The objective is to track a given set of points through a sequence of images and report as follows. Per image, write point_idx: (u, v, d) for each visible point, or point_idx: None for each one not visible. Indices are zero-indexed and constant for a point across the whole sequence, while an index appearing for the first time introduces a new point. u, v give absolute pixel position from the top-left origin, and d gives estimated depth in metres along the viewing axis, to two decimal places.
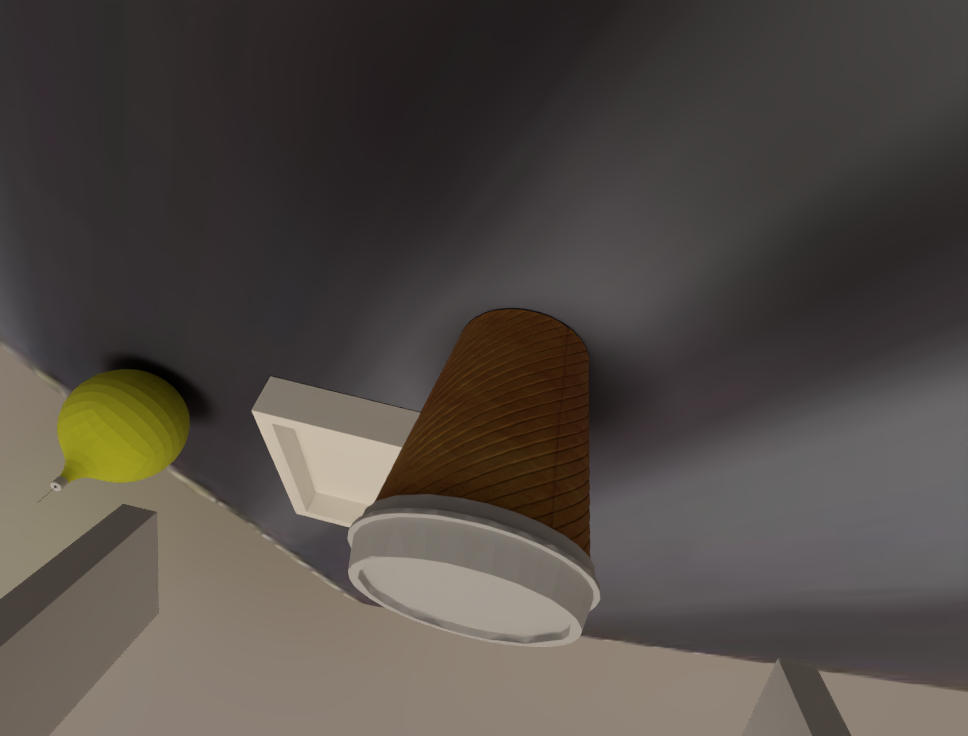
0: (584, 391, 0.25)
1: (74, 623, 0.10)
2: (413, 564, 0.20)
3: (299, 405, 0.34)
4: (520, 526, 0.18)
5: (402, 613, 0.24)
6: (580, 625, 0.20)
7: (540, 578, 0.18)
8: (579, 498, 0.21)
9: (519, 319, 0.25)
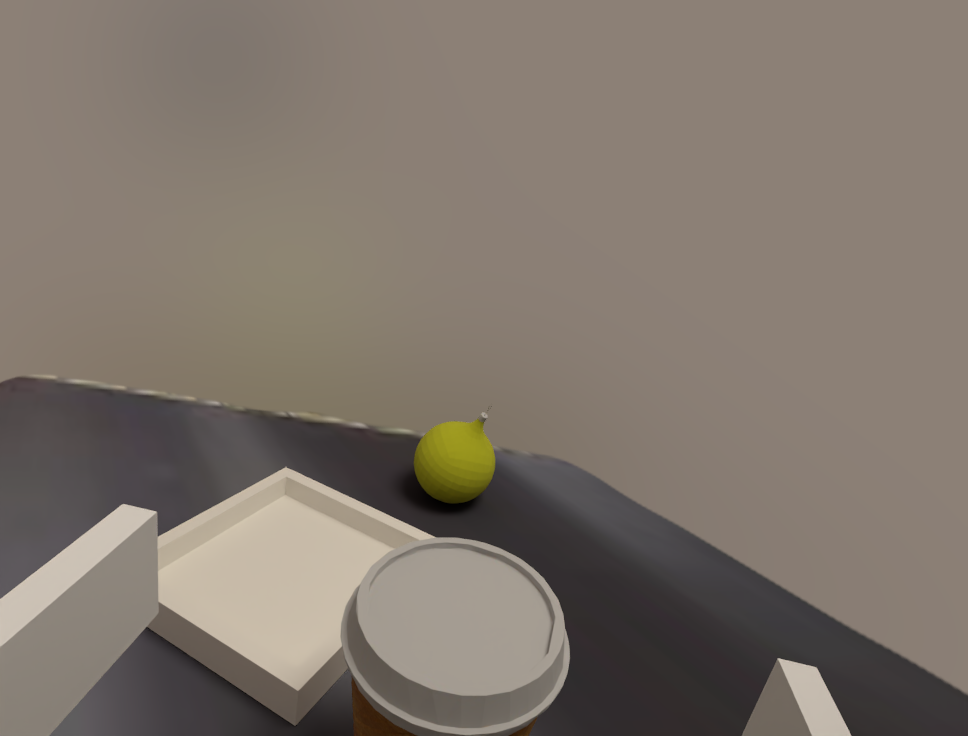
0: None
1: (74, 623, 0.10)
2: (525, 605, 0.25)
3: None
4: None
5: (424, 543, 0.27)
6: (443, 692, 0.20)
7: (523, 695, 0.21)
8: None
9: None
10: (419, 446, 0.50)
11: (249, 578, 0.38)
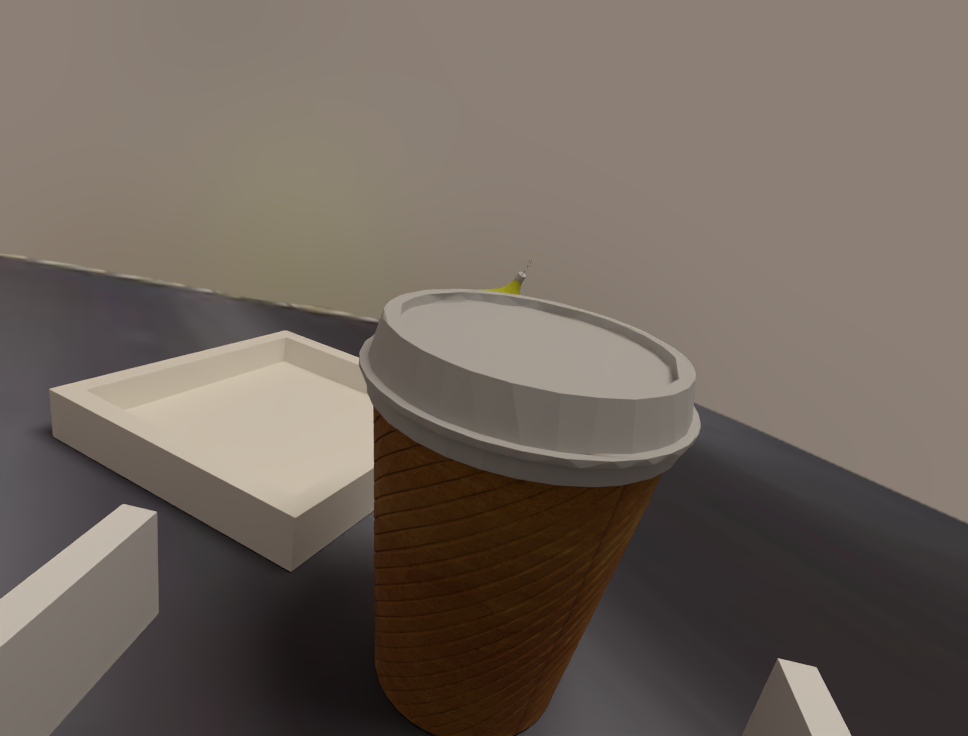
0: (490, 686, 0.16)
1: (74, 623, 0.10)
2: (626, 352, 0.17)
3: None
4: (672, 457, 0.14)
5: (474, 291, 0.19)
6: (531, 388, 0.12)
7: (653, 415, 0.13)
8: (547, 548, 0.14)
9: None
10: None
11: (236, 425, 0.30)
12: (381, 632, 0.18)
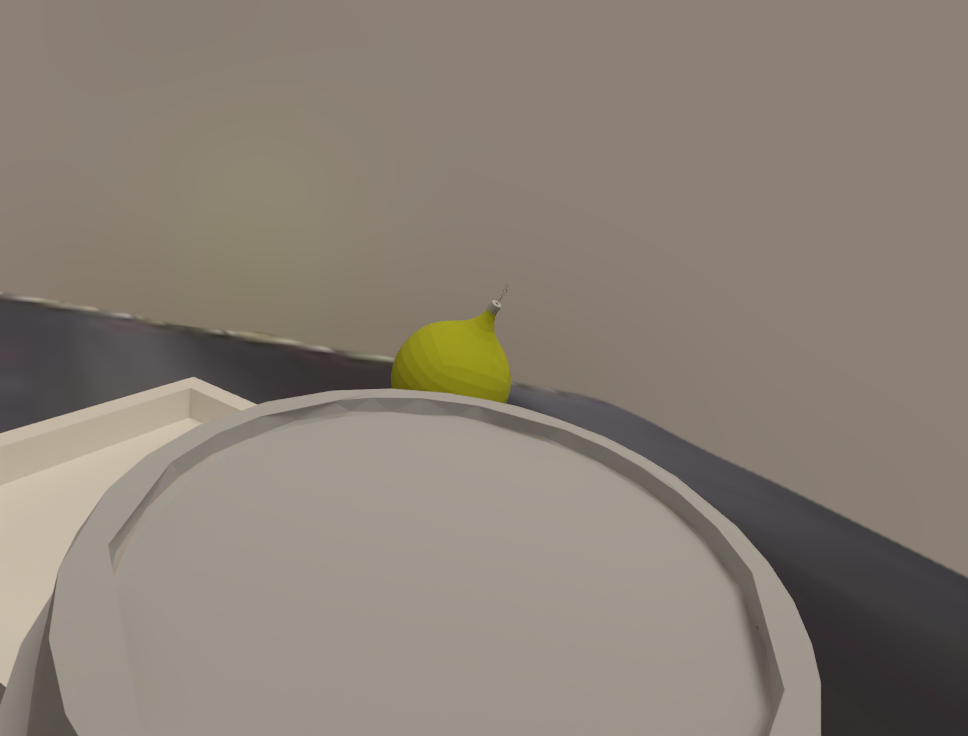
0: None
1: None
2: (645, 542, 0.09)
3: None
4: None
5: (365, 395, 0.11)
6: None
7: None
8: None
9: None
10: (399, 353, 0.34)
11: None
12: None
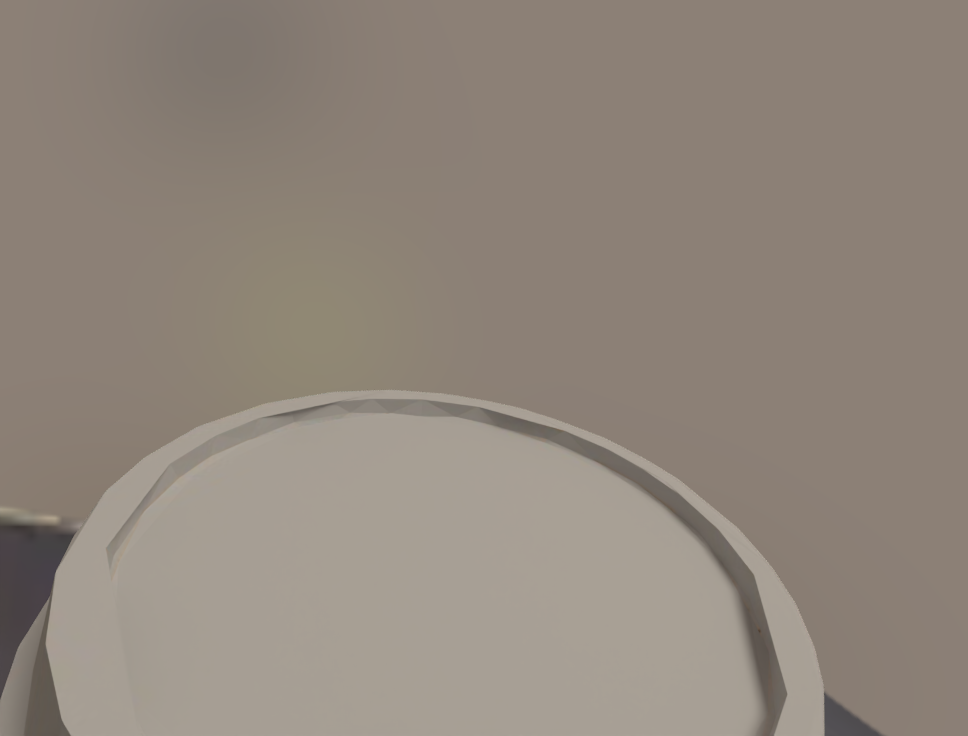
0: None
1: None
2: (646, 544, 0.09)
3: None
4: None
5: (365, 396, 0.11)
6: None
7: None
8: None
9: None
10: None
11: None
12: None
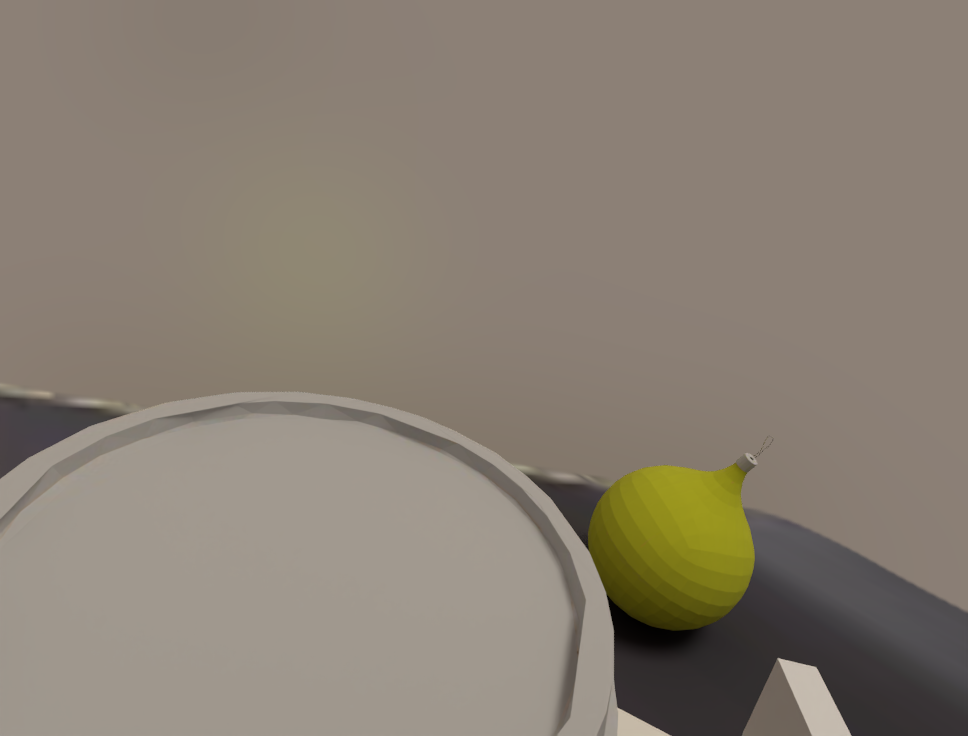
0: None
1: None
2: (502, 562, 0.09)
3: None
4: None
5: (268, 398, 0.11)
6: None
7: None
8: None
9: None
10: (608, 517, 0.25)
11: None
12: None
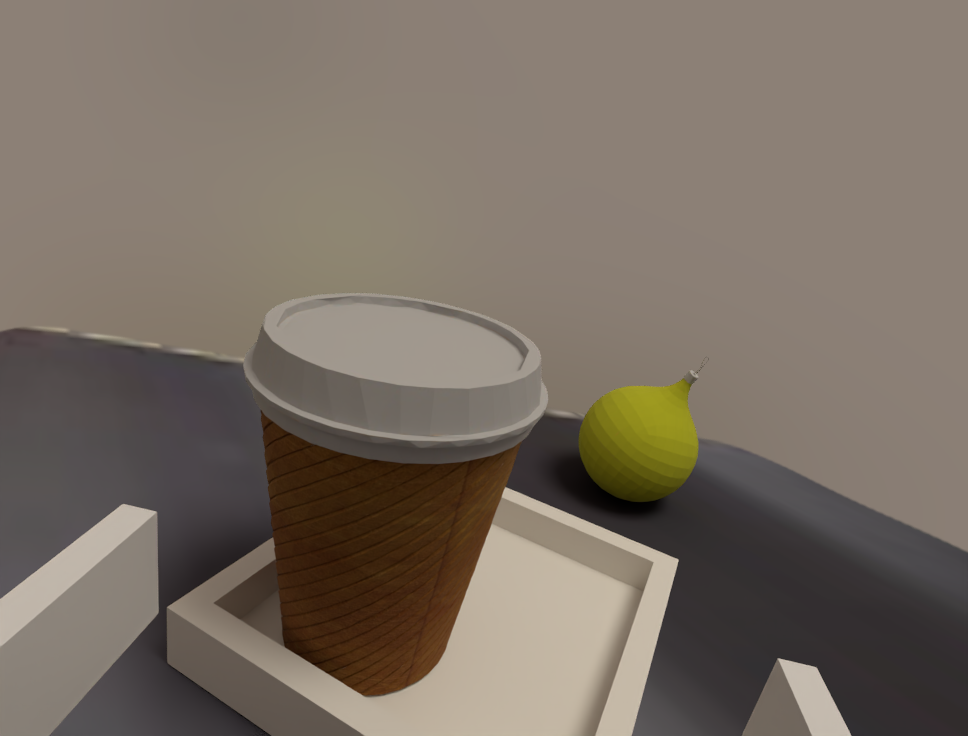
0: (374, 643, 0.18)
1: (74, 623, 0.10)
2: (490, 347, 0.20)
3: None
4: (513, 437, 0.17)
5: (362, 295, 0.21)
6: (375, 381, 0.14)
7: (487, 401, 0.15)
8: (407, 518, 0.16)
9: (449, 637, 0.22)
10: (592, 419, 0.35)
11: None
12: (282, 603, 0.20)
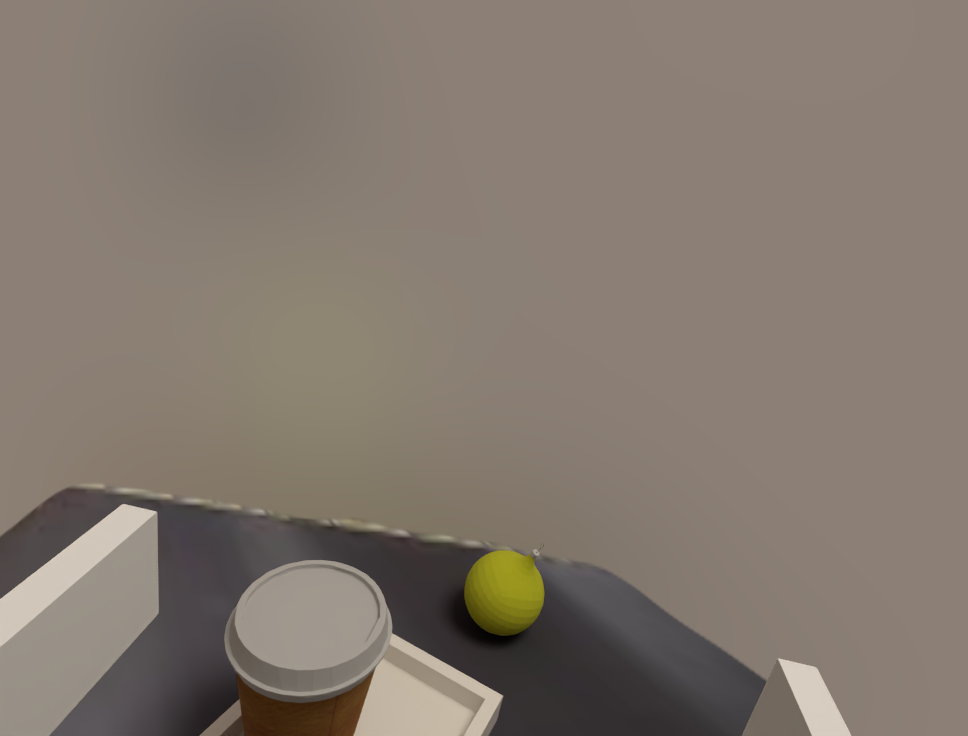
0: None
1: (74, 623, 0.10)
2: (361, 608, 0.36)
3: (486, 731, 0.42)
4: None
5: (295, 565, 0.38)
6: (285, 668, 0.30)
7: (343, 669, 0.31)
8: (305, 722, 0.32)
9: None
10: (470, 579, 0.51)
11: None
12: None
